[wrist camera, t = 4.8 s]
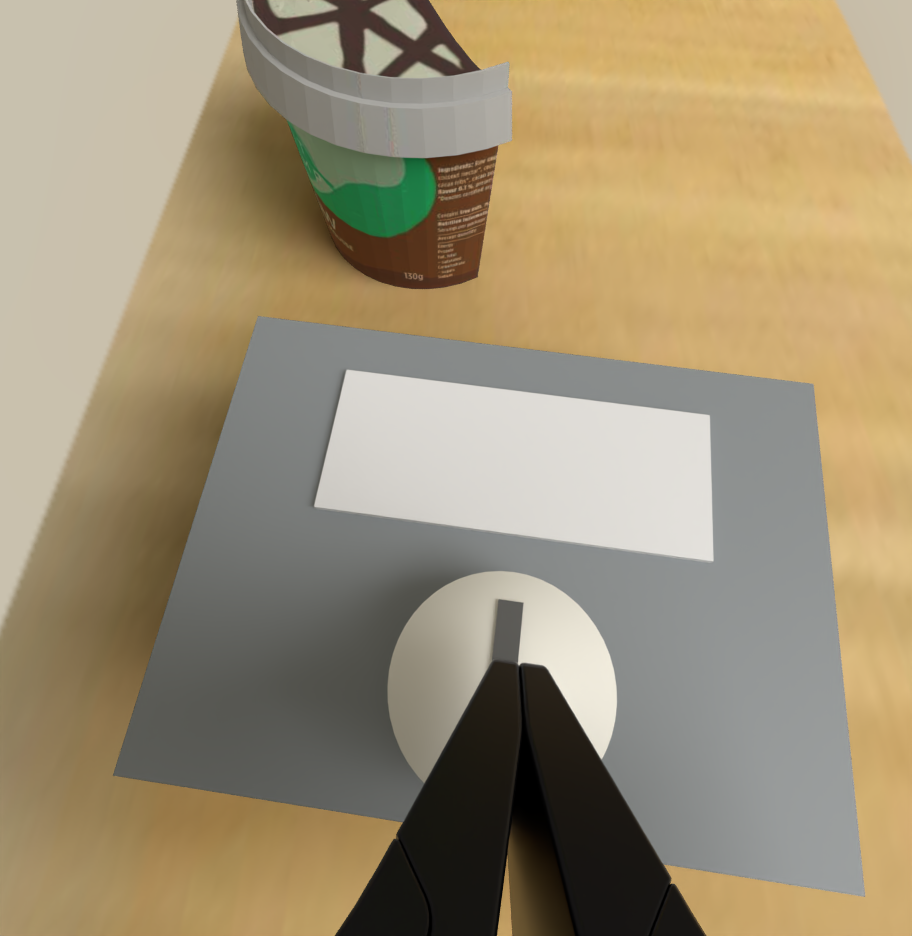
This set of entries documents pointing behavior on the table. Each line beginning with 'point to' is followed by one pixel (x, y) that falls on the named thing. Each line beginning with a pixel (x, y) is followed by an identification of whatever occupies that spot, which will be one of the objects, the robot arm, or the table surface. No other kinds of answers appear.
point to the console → (522, 551)
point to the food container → (385, 129)
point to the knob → (493, 637)
